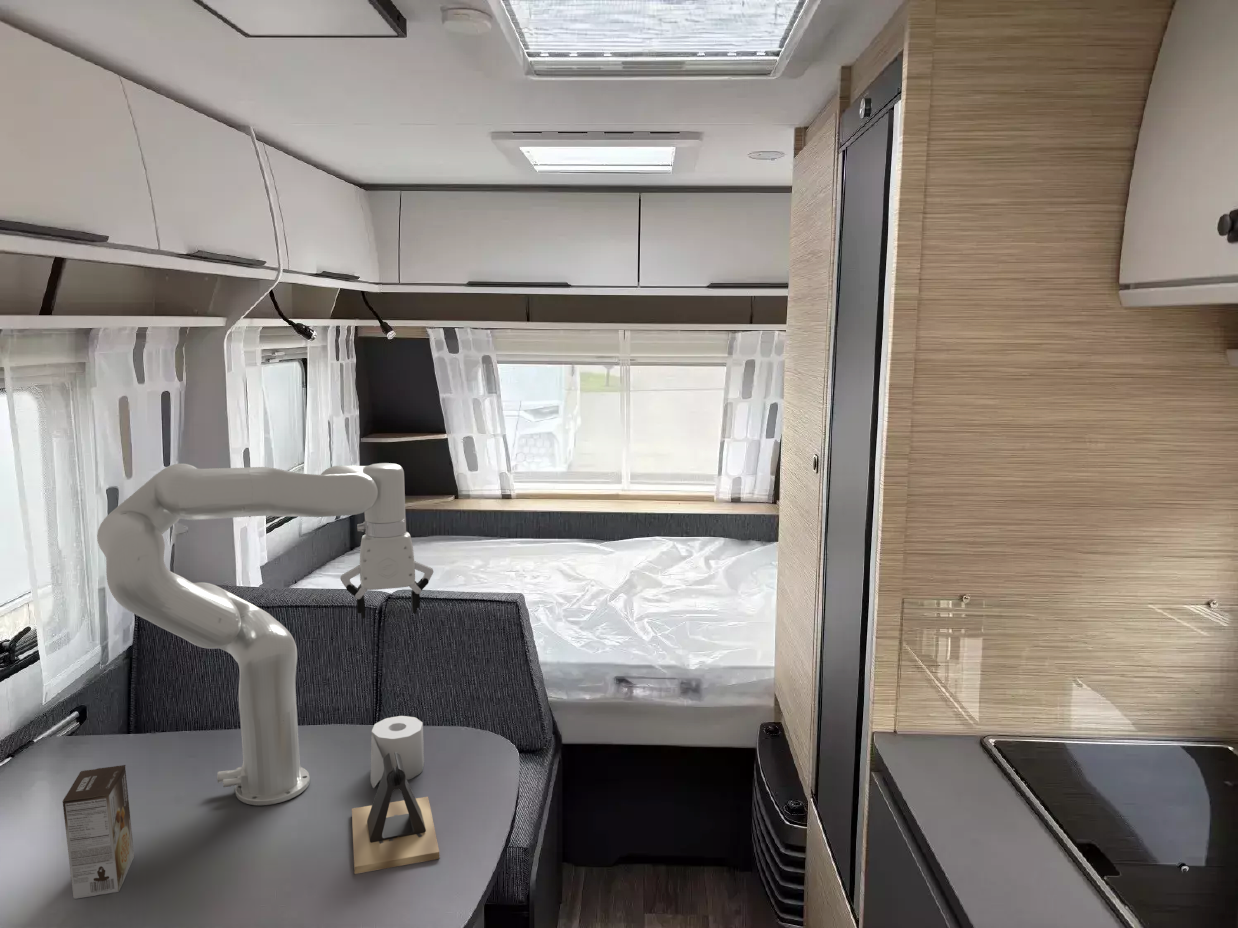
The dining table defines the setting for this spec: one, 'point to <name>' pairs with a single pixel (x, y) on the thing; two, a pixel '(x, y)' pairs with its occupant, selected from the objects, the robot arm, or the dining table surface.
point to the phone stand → (377, 820)
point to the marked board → (392, 840)
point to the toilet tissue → (397, 746)
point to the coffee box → (98, 831)
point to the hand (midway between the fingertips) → (389, 614)
